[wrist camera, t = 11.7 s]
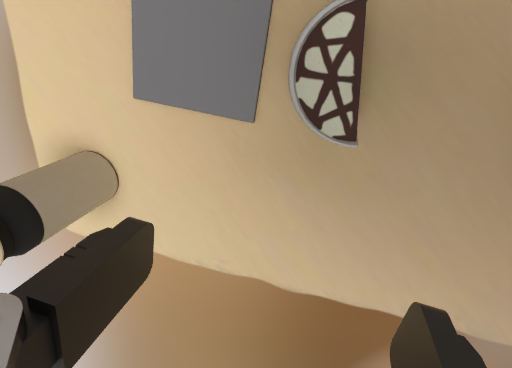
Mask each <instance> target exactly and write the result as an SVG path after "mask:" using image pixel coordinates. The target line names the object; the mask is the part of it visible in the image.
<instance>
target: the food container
mask: <svg viewBox="0 0 512 368" xmlns="http://www.w3.org/2000/svg"><path fill="white" fill-rule="evenodd" d="M366 2H367V0H334V1H332V2H331V3H329V4H328V5H327V6H325V7H324V8H323V9H321V10H320V11H319V12H318V13H317V14H316V15H315V16H314V17H313V18H312V19H311V20H310V21H309V22H308V24H307V25H306V26H305V28H304V29H303V31H302V32H301V34H300V36H299V38H298V40H297V41H296V43H295V46H294V49H293V52H292V54H291V59H290V64H289V73H288V82H289V91H290V95H291V99H292V102H293V104H294V107H295V109H296V111H297V113H298V114H299V116H300V117H301V119H302V120H303V121H304V123H305V124H306V125H307V126H308V127H309V128H310V129H311V130H313V131H314V132H315V133H316V134H317V135H319V136H321V137H322V138H324V139H326V140H328V141H330V142H332V143H335V144H338V145H342V146H347V147H357V148H358V141H357V121H358V108H359V95H360V83H361V69H362V54H363V42H364V29H365V15H366Z"/></svg>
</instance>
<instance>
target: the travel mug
mask: <svg viewBox="0 0 512 368" xmlns="http://www.w3.org/2000/svg"><path fill="white" fill-rule="evenodd" d="M117 187H118V181H117V176H116V173H115V171H114V169H113V168H112V166H111V165H110V163H109V162H108V161H107V160H106V159H105V158H103V157H102V156H100V155H99V154H96V153H94V152H90V151H84V152H80V153H77V154H75V155H72V156H70V157H67V158H64V159H62V160H59V161H57V162H54V163H51V164H49V165H46V166H43V167H41V168H38V169H36V170H33V171H31V172H28V173H25V174H23V175H20V176H18V177H15V178H12V179H10V180H7V181H4V182H2V183H0V266H1V264H2V262H3V260H5V259H6V258H7V257H11V256H18V255H23V254H25V253H27V252H28V251H29V250H31V249H33V248H34V247H36V246H37V245H39V244H40V243H42V242H44V241H45V240H47V239H48V238H50V237H51V236H53V235H54V234H56V233H58V232H59V231H60V230H62V229H64V228H65V227H67V226H68V225H70V224H71V223H73V222H75V221H76V220H78V219H79V218H81V217H82V216H84V215H85V214H87V213H88V212H90V211H92V210H93V209H95V208H96V207H98V206H99V205H101V204H102V203H104V202H105V201H107V200H109V199H110V198H112V197H113V196H114V194H115V193H116V191H117Z"/></svg>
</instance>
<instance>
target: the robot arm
mask: <svg viewBox="0 0 512 368" xmlns="http://www.w3.org/2000/svg"><path fill="white" fill-rule="evenodd" d="M153 245H154V226H153V224H152V223H149V222H145V221H142V220H139V219H135V218H132V217H128V218H126V219H124V220H123V221H122V222H120V223H119V224H118V225H117V226H115V227H114V228H113V229H111V228H105V229H103V230H100V231H98V232H95V233H93V234H90V235H89V236H87V237H86V238H85V239H83V240H82V241H81V242H79V243H78V244H77V245H76V247H72V248H71V249H70V250H68V251H67V252H66V253H64V256H60V257H59V258H57V259H56V260H55V261H53V262H52V263H51V264H49V265H48V266H46V267H45V268H44V269H42V270H41V271H39V272H38V273H37V274H35V275H34V276H33V277H32V278H30V279H29V280H27V281H26V282H24V283H23V284H22V285H21V286H19V287H18V288H16V289H15V290H14V291H12V292H11V293H9V294H7V293H0V368H72V367H73V366H74V365H75V364H76V362H77V361H78V360H79V359H80V358H81V356H82V355H83V354H84V353H85V352H86V350H87V349H88V348H89V347H90V346H91V345H92V343H93V342H94V341H95V340H96V339H97V337H98V336H99V335H100V334H101V333H102V331H103V330H104V329H105V328H106V327H107V325H108V324H109V323H110V322H111V321H112V319H113V318H114V317H115V316H116V315H117V313H118V312H119V311H120V310H121V309H122V308H123V306H124V305H125V304H126V303H127V302H128V300H129V299H130V298H131V297H132V296H133V294H134V293H135V292H136V291H137V290H138V289H139V287H140V286H141V285H142V284H143V283H144V281H145V280H146V279H147V277H148V275H149V273H150V271H151V268H152V264H153ZM390 362H391V367H392V368H487V367H486V365H485V363H484V361H483V359H482V357H481V356H480V355H479V354H478V352H477V351H476V350H475V349H474V348H473V346H472V345H471V344H470V343H469V342H468V341H467V340H466V338H465V337H464V336H461V335H457V333H456V331H455V328H454V326H453V324H452V322H451V319H450V317H449V315H448V314H447V312H446V311H444V310H441V309H438V308H434V307H431V306H428V305H424V304H421V303H418V302H414V303H412V304H411V306H410V307H409V309H408V311H407V313H406V315H405V316H404V318H403V320H402V322H401V324H400V326H399V328H398V330H397V332H396V333H395V335H394V337H393V339H392V342H391V347H390Z"/></svg>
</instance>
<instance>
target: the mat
mask: <svg viewBox="0 0 512 368" xmlns="http://www.w3.org/2000/svg"><path fill="white" fill-rule="evenodd" d="M272 2H273V0H132V50H133V98H135V99H140V100H145V101H150V102H154V103H159V104H164V105H169V106H174V107H178V108H183V109H188V110H193V111H198V112H202V113H207V114H212V115H217V116H222V117H226V118H231V119H236V120H241V121H246V122H250V123H254V120H255V114H256V107H257V101H258V94H259V88H260V81H261V74H262V68H263V61H264V55H265V48H266V42H267V35H268V29H269V22H270V16H271V9H272Z"/></svg>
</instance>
